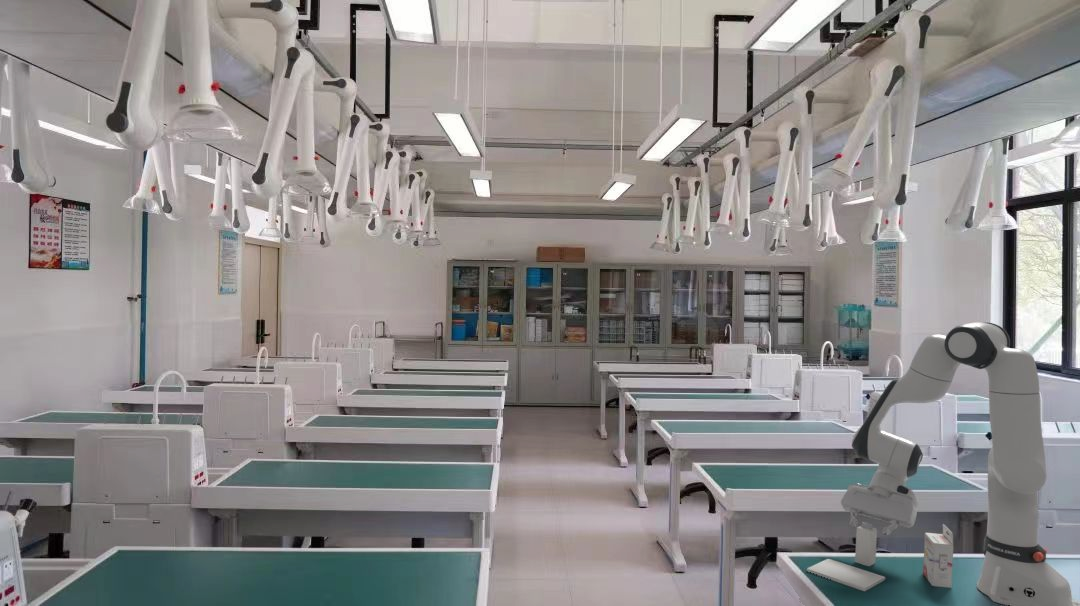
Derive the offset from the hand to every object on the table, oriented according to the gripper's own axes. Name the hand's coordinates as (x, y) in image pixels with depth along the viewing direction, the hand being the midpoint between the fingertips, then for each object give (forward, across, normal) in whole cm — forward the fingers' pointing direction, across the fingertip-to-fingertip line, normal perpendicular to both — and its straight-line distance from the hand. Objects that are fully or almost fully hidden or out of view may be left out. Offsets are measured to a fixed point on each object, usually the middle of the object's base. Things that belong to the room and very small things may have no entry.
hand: (868, 529), depth 209 cm
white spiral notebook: (+17, +1, -4) cm, 18 cm away
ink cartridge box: (+6, +18, +8) cm, 21 cm away
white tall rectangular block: (+8, 0, +6) cm, 9 cm away
